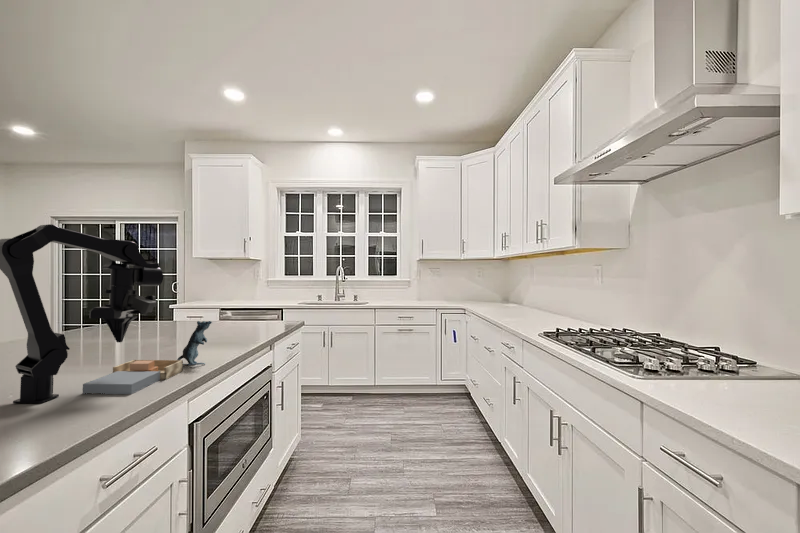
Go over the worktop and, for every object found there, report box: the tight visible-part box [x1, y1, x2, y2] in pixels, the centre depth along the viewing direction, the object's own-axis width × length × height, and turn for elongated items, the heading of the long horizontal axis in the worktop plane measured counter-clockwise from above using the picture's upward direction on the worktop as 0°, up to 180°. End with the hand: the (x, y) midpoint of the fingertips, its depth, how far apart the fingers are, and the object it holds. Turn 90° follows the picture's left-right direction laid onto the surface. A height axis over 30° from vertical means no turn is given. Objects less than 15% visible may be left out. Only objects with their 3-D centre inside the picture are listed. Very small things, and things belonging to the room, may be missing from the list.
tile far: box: [142, 366, 158, 371], centre depth 136 cm, size 5×5×2 cm
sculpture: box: [176, 320, 213, 367], centre depth 156 cm, size 8×11×15 cm
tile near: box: [130, 359, 156, 371], centre depth 135 cm, size 5×5×2 cm
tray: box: [112, 359, 184, 381], centre depth 138 cm, size 12×15×4 cm
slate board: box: [82, 371, 160, 395], centre depth 124 cm, size 16×12×2 cm
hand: (119, 342), depth 126 cm, fingers closed
